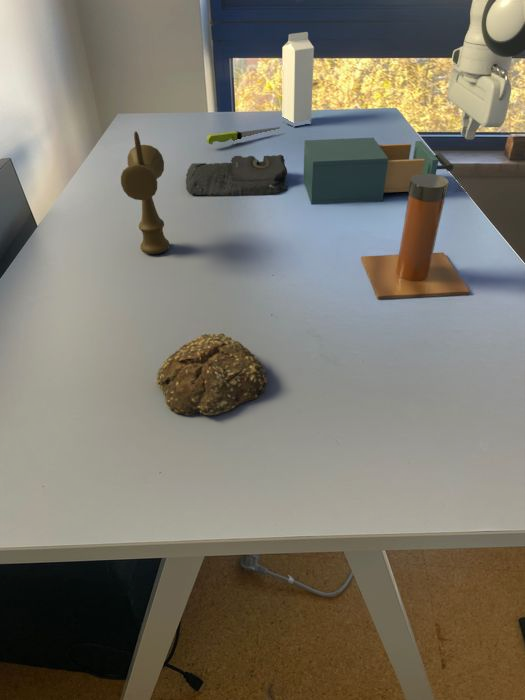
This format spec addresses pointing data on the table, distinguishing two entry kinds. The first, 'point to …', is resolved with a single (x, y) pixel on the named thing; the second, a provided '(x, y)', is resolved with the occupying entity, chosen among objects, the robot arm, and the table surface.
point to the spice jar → (421, 225)
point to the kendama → (146, 193)
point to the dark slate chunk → (238, 177)
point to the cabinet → (344, 170)
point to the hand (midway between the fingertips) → (467, 137)
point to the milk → (297, 78)
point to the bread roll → (210, 376)
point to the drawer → (410, 164)
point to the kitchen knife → (234, 135)
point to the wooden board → (392, 286)
